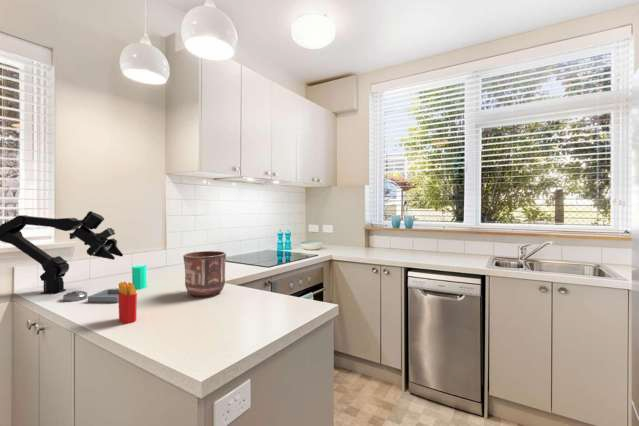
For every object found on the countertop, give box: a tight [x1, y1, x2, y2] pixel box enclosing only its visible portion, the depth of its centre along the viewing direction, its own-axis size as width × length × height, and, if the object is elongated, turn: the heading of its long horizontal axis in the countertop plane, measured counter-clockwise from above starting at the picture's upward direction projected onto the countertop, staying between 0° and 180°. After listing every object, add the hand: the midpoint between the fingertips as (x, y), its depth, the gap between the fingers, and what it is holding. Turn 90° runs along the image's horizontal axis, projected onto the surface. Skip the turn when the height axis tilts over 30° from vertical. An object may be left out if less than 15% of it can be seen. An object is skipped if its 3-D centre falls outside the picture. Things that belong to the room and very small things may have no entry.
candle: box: [131, 262, 148, 291], centre depth 153 cm, size 6×6×12 cm
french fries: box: [118, 281, 138, 324], centre depth 109 cm, size 9×4×13 cm, turn 48°
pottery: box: [183, 250, 227, 298], centre depth 143 cm, size 18×18×18 cm
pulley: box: [62, 290, 88, 303], centre depth 134 cm, size 8×8×3 cm
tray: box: [87, 288, 119, 304], centre depth 135 cm, size 12×12×2 cm
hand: (118, 257), depth 150 cm, fingers open, 9 cm apart
